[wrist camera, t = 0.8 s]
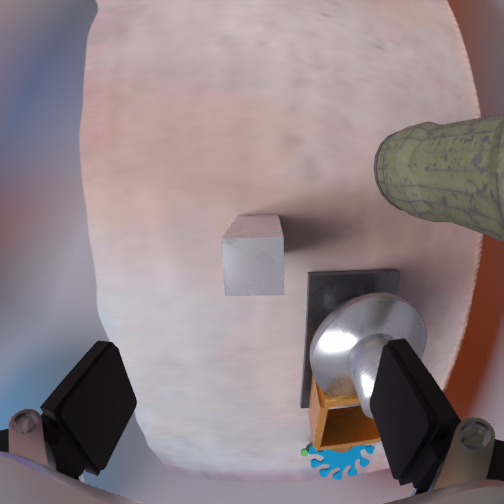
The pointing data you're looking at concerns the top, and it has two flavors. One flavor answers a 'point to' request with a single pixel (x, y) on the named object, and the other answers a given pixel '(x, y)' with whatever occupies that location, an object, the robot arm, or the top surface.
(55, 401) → the robot arm
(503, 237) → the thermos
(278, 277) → the tall grey block
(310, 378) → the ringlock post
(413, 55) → the top surface
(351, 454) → the blue splat shape
